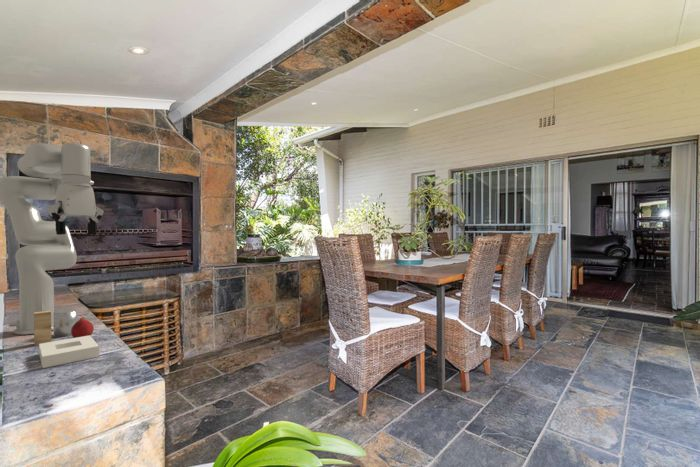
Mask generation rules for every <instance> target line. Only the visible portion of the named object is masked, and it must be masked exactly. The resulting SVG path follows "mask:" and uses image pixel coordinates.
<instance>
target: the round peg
mask: <svg viewBox="0 0 700 467" xmlns="http://www.w3.org/2000/svg"><path fill="white" fill-rule="evenodd" d="M78 312H79V311H78V309H67V310H66V309H65V310H59V311H54V330H53V337H54V338H63V337H64V338H65V337H72V334H71V329H72V327H73V325H74V324H75V323H76V322H77V321H79V316H78V314H79V313H78Z"/></svg>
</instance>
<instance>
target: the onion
mask: <svg viewBox="0 0 700 467" xmlns="http://www.w3.org/2000/svg"><path fill="white" fill-rule="evenodd" d="M94 330H95V329H94V324H93V323H92V322H91V321H89V320H88V319H86V317H85V316H81V317H80V319H78V321H77V322H76V323H75V324H74V325H73V327H72V329H71V334H72V335H71V337H72V338H77V337H83V336H89V335H90V336H92V334H93V333H94Z"/></svg>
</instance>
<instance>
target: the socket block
mask: <svg viewBox="0 0 700 467" xmlns="http://www.w3.org/2000/svg"><path fill="white" fill-rule="evenodd" d="M38 356H39V359H40V364H41V367H42V369H47V368H50V367H55V366H56V367H57V366H60V365H61V366H62V365H66V364H70V363H74V362H80V361H84V360H89V359H93V358H98V357H100V345H99V344H98V343H97V342H96V340H94V338H93V337H92V335H89V336H83V337H77V338H73V337H71V338H68V339H67V338H66V339H60V340H54V341H53V340H52V341H51V342H47V343H41V344H39V345H38Z"/></svg>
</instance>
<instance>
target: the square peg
mask: <svg viewBox="0 0 700 467" xmlns="http://www.w3.org/2000/svg"><path fill="white" fill-rule="evenodd" d="M33 338H34V339H33V340H34V341H33V342H34V343H33V344H34V347H36V346H38V347H39V344H41V343H47V342H52V330H51V311H42V312H34V334H33Z"/></svg>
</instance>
